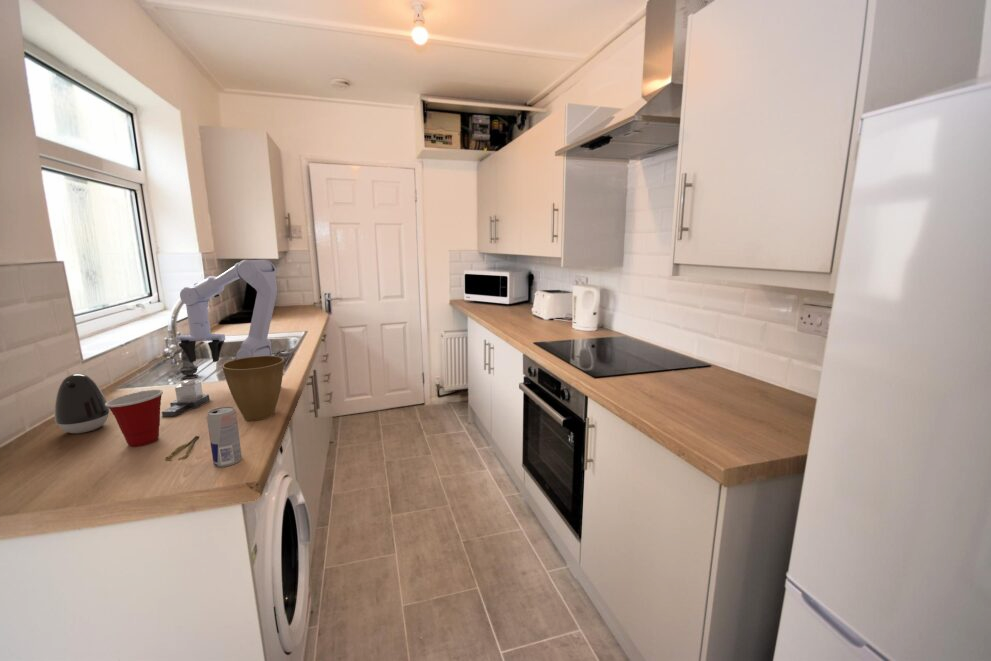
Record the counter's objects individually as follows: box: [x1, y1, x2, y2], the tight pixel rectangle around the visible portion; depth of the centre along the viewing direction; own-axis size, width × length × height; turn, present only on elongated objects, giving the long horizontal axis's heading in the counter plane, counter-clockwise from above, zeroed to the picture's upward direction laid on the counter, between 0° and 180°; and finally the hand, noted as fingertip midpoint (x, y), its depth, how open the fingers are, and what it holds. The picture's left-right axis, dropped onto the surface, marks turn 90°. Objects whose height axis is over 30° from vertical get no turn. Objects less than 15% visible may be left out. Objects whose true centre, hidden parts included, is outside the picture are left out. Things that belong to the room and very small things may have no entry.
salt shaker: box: [178, 349, 199, 380], centre depth 155 cm, size 6×6×12 cm
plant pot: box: [222, 355, 285, 422], centre depth 117 cm, size 15×15×16 cm
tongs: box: [164, 435, 200, 462], centre depth 98 cm, size 4×13×2 cm, turn 20°
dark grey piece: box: [161, 394, 211, 418], centre depth 124 cm, size 7×13×5 cm, turn 4°
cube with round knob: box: [174, 378, 204, 402], centre depth 127 cm, size 5×5×6 cm
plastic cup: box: [105, 389, 164, 448], centre depth 101 cm, size 11×11×12 cm
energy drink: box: [206, 405, 243, 468], centre depth 91 cm, size 5×5×12 cm
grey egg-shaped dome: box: [54, 373, 111, 434], centre depth 108 cm, size 10×10×15 cm
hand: (204, 361), depth 142 cm, fingers open, 7 cm apart
